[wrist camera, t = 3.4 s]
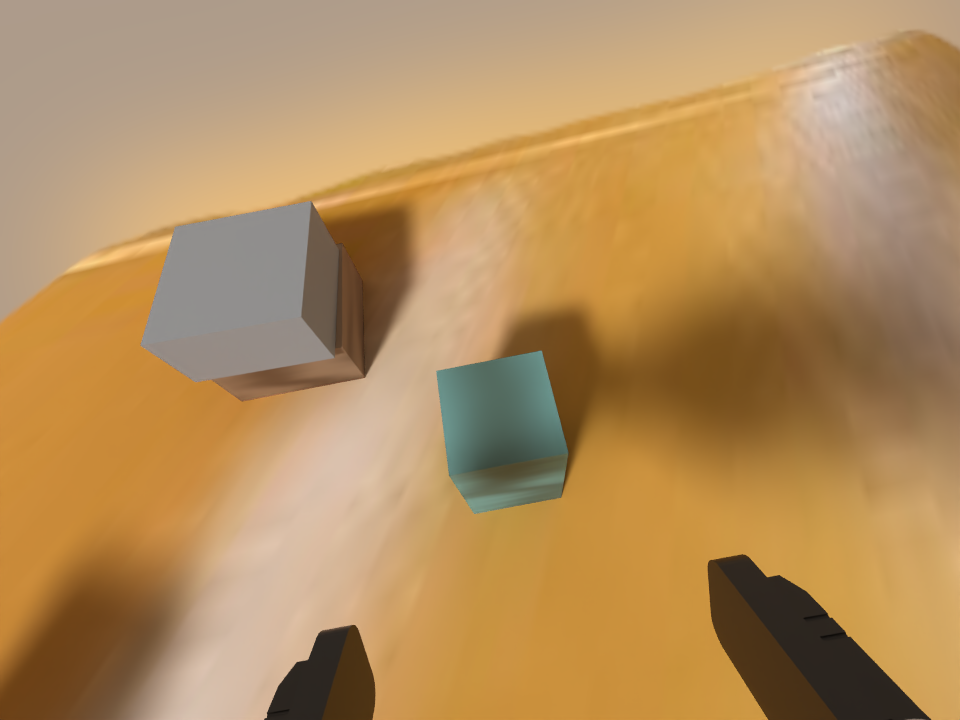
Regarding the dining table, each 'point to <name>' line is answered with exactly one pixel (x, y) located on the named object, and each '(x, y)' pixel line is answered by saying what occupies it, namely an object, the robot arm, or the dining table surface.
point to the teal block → (502, 432)
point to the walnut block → (325, 371)
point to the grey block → (246, 294)
